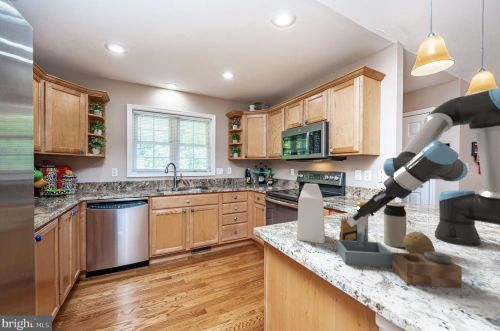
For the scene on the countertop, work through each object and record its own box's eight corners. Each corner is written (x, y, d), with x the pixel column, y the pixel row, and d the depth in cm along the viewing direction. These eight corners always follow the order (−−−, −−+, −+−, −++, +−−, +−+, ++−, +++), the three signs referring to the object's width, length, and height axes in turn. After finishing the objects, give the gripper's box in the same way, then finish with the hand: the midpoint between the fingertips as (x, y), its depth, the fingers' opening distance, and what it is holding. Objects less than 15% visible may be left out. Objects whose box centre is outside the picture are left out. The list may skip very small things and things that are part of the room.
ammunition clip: (342, 245, 91) (342, 217, 91) (339, 243, 92) (339, 216, 92) (358, 240, 96) (358, 214, 96) (354, 239, 97) (354, 214, 98)
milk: (296, 239, 97) (296, 184, 98) (300, 232, 108) (300, 182, 108) (323, 243, 93) (323, 185, 93) (325, 235, 104) (324, 183, 104)
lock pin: (365, 244, 79) (365, 202, 79) (370, 247, 76) (370, 203, 76) (355, 243, 80) (355, 201, 80) (359, 247, 76) (358, 203, 76)
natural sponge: (401, 251, 83) (401, 227, 83) (430, 256, 79) (430, 230, 79) (404, 260, 76) (404, 233, 76) (437, 266, 71) (437, 237, 71)
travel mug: (382, 244, 91) (382, 203, 91) (386, 240, 97) (385, 201, 97) (404, 249, 86) (404, 206, 86) (407, 244, 91) (407, 203, 92)
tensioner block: (440, 273, 66) (440, 248, 66) (461, 288, 58) (461, 259, 58) (392, 270, 68) (392, 246, 69) (406, 284, 61) (406, 256, 61)
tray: (378, 252, 83) (378, 242, 83) (395, 267, 71) (395, 254, 71) (336, 250, 85) (336, 239, 85) (345, 264, 73) (345, 251, 73)
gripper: (402, 193, 61) (347, 235, 74) (421, 190, 70) (369, 227, 84) (382, 175, 65) (333, 217, 78) (402, 174, 75) (356, 212, 88)
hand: (352, 222), depth 81 cm, fingers closed on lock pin, 3 cm apart
